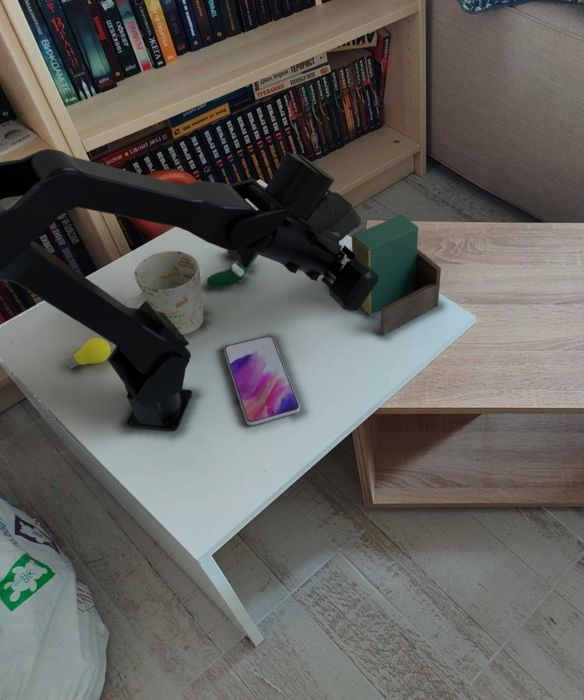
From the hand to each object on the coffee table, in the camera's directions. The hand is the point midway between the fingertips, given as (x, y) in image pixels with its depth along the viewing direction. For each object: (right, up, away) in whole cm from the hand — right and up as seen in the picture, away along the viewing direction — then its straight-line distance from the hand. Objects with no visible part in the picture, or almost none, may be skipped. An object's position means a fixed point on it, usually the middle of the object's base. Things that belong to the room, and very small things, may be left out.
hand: (359, 272), depth 100 cm
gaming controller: (-21, +1, +8) cm, 23 cm away
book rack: (+3, -3, +8) cm, 9 cm away
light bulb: (-37, -11, -6) cm, 39 cm away
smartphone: (-13, -16, -6) cm, 21 cm away
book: (+3, -3, +8) cm, 9 cm away
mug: (-28, -8, -1) cm, 29 cm away
